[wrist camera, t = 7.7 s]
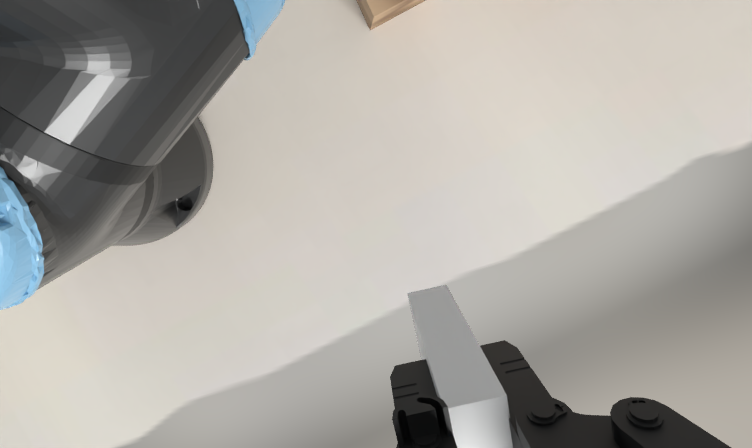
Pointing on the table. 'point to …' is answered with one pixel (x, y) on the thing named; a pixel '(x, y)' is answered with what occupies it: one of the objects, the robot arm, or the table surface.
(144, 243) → the robot arm
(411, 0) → the wooden letter cube
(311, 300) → the table surface
